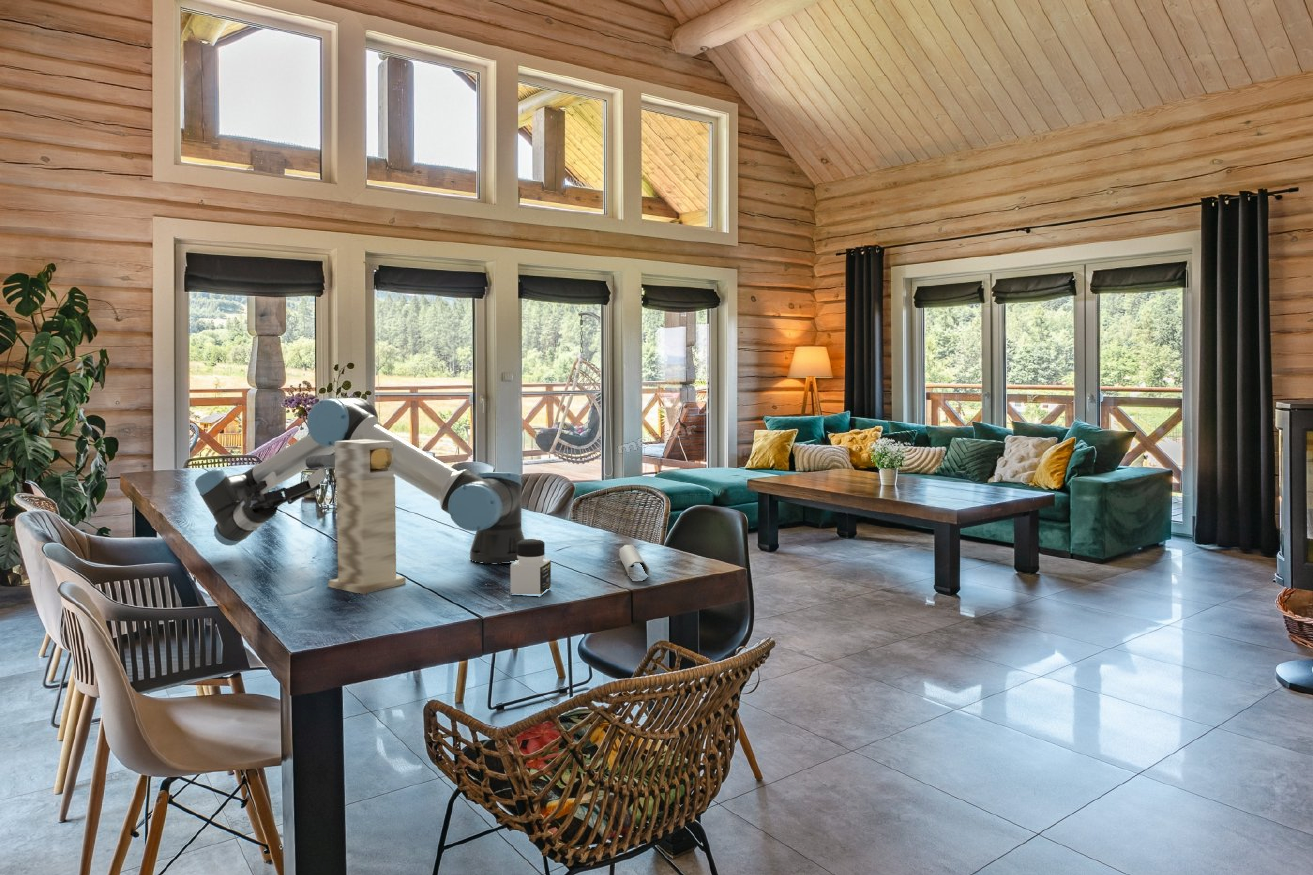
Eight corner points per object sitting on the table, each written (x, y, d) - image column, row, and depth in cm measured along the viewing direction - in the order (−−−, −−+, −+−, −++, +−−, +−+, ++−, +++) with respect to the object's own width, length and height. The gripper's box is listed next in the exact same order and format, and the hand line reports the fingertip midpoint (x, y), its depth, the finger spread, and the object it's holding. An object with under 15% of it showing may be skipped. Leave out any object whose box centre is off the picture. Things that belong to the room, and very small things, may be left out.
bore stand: (328, 586, 201) (325, 441, 198) (371, 576, 211) (369, 438, 208) (363, 594, 194) (361, 444, 192) (405, 583, 204) (404, 441, 202)
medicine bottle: (540, 597, 193) (540, 543, 192) (510, 595, 194) (509, 542, 193) (551, 590, 200) (551, 537, 199) (521, 588, 201) (521, 536, 200)
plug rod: (303, 472, 209) (302, 454, 209) (319, 470, 213) (318, 452, 213) (377, 469, 195) (375, 449, 195) (392, 467, 199) (391, 448, 199)
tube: (614, 546, 233) (624, 565, 208) (633, 539, 233) (645, 557, 209) (620, 564, 233) (631, 586, 209) (640, 558, 234) (652, 578, 209)
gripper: (303, 517, 234) (348, 483, 223) (213, 530, 213) (258, 493, 202) (294, 492, 236) (338, 456, 225) (204, 502, 215) (247, 464, 204)
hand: (300, 474), depth 214 cm, fingers open, 13 cm apart
